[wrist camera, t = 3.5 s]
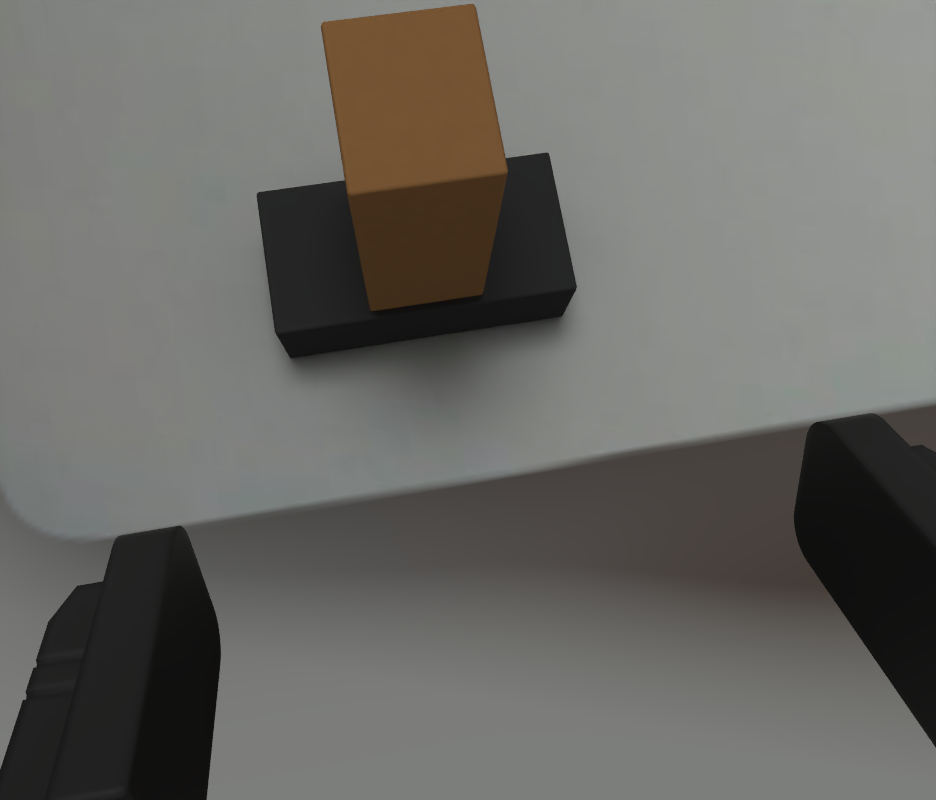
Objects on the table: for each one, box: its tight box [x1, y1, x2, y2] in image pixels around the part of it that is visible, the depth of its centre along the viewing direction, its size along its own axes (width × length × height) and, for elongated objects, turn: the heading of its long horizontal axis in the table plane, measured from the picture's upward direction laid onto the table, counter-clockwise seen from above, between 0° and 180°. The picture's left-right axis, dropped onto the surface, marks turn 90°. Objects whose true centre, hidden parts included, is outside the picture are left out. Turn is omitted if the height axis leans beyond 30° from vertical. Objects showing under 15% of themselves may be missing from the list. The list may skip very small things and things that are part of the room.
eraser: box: [257, 4, 577, 358], centre depth 21 cm, size 8×4×10 cm, turn 100°
